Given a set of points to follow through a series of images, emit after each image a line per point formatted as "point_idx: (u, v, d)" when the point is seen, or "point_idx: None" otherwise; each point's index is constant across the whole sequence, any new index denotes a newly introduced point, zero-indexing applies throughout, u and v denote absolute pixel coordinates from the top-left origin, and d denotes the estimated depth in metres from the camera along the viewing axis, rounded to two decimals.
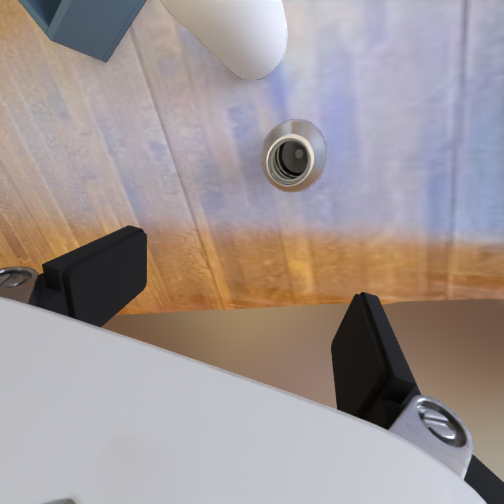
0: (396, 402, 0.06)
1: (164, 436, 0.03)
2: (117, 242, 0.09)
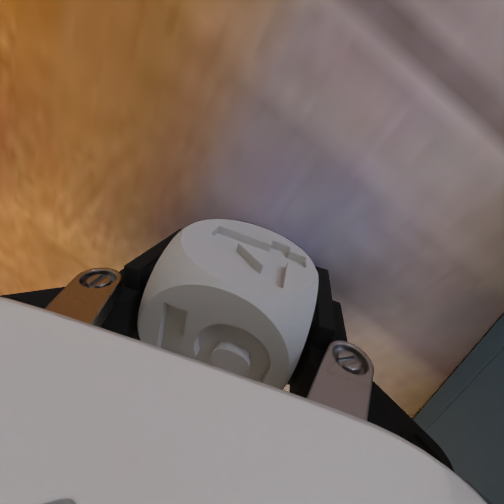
0: (324, 350, 0.07)
1: (164, 436, 0.03)
2: None
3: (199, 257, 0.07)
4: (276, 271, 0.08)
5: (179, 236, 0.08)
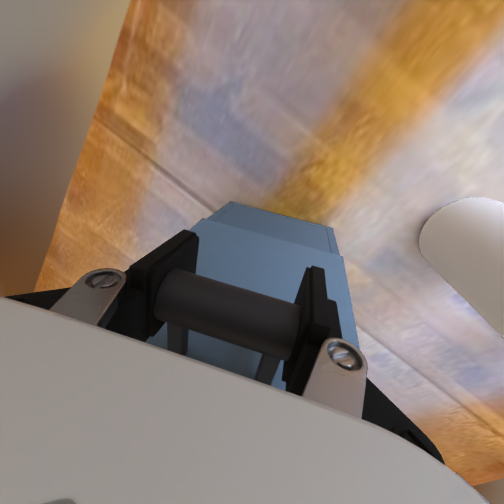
0: (320, 348, 0.07)
1: (164, 436, 0.03)
2: (179, 246, 0.10)
3: None
4: None
5: None
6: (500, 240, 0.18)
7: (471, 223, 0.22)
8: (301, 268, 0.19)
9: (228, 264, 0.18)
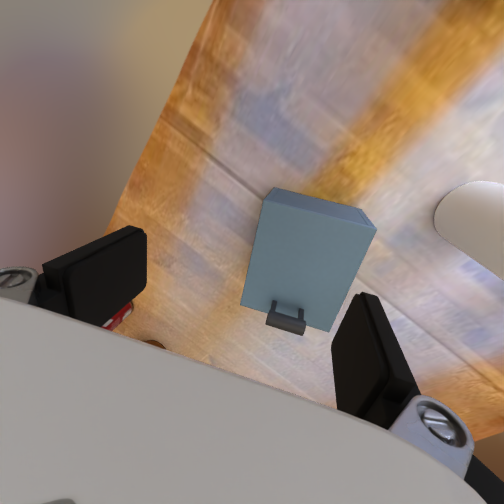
0: (395, 402, 0.06)
1: (164, 436, 0.03)
2: (117, 242, 0.09)
3: None
4: None
5: None
6: (501, 208, 0.24)
7: (478, 199, 0.28)
8: (333, 251, 0.30)
9: (287, 255, 0.32)
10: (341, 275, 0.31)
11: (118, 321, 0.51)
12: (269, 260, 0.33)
